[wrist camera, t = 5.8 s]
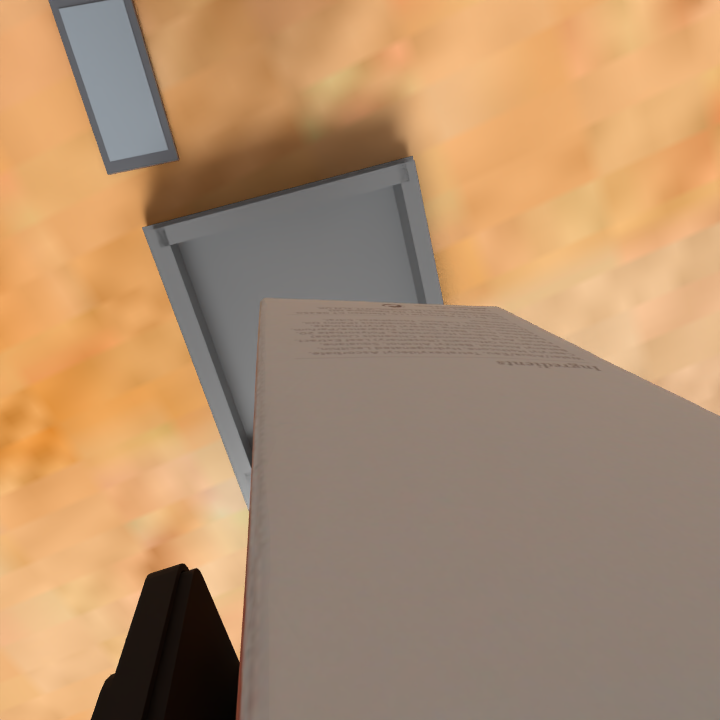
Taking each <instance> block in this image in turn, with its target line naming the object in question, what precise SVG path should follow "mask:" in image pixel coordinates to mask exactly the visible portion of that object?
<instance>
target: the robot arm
mask: <svg viewBox="0 0 720 720" xmlns="http://www.w3.org/2000/svg"><path fill="white" fill-rule="evenodd" d="M239 666H240V662H239V660H238V658H237V655H236V653H235V651H234V648H233V646H232V644H231V641H230V639H229V637H228V634H227V632H226V630H225V627H224V625H223V623H222V620H221V618H220V616H219V613H218V611H217V609H216V606H215V604H214V602H213V599H212V597H211V595H210V592H209V590H208V588H207V585H206V583H205V581H204V578H203V576H202V574H201V572H200V571H199V569H197V568H195V569H192V570H189V569H188V567H187V566H186V565H185V564H179V565H175V566H172V567H169V568H166V569H163V570H160V571H157V572H153V573H150V574H149V575H148V576H147V578H146V580H145V583H144V586H143V589H142V592H141V595H140V598H139V601H138V604H137V607H136V610H135V613H134V617H133V620H132V623H131V626H130V629H129V632H128V635H127V638H126V641H125V644H124V648H123V651H122V654H121V657H120V660H119V663H118V666H117V669H116V672H115V674H112V675H111V676H109V677H108V678H107V679H106V681H105V683H104V685H103V687H102V689H101V691H100V694H99V697H98V700H97V703H96V706H95V709H94V712H93V715H92V718H91V720H236V710H237V695H238V680H239Z"/></svg>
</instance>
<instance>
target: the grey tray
mask: <svg viewBox="0 0 720 720" xmlns="http://www.w3.org/2000/svg"><path fill="white" fill-rule="evenodd" d="M142 229H143V231H144V234H145V237H146V239H147V242H148V245H149V247H150V250H151V253H152V255H153V258H154V260H155V263H156V266H157V268H158V271H159V274H160V276H161V279H162V282H163V284H164V287H165V290H166V292H167V295H168V298H169V300H170V303H171V306H172V308H173V311H174V314H175V316H176V319H177V322H178V324H179V327H180V330H181V332H182V335H183V337H184V340H185V343H186V345H187V348H188V351H189V353H190V356H191V359H192V361H193V364H194V367H195V369H196V372H197V375H198V377H199V380H200V383H201V385H202V388H203V391H204V393H205V396H206V399H207V401H208V404H209V407H210V409H211V412H212V414H213V417H214V420H215V422H216V425H217V428H218V430H219V433H220V436H221V438H222V441H223V444H224V446H225V449H226V452H227V454H228V457H229V460H230V462H231V465H232V468H233V470H234V473H235V476H236V478H237V481H238V484H239V486H240V489H241V492H242V494H243V497H244V499H245V502H246V505H247V507H248V510H249V507H250V488H251V469H252V450H253V425H254V404H255V381H256V361H257V343H258V327H259V312H260V302H261V300H262V299H264V298H280V299H309V300H337V301H363V302H386V303H410V304H436V305H444V304H443V299H442V294H441V289H440V284H439V279H438V274H437V269H436V264H435V259H434V254H433V249H432V245H431V240H430V235H429V230H428V225H427V220H426V215H425V210H424V205H423V200H422V195H421V190H420V185H419V181H418V176H417V171H416V166H415V161H414V160H413V156H410V157H406V158H403V159H399V160H395V161H391V162H388V163H384V164H380V165H376V166H373V167H369V168H365V169H361V170H357V171H354V172H350V173H346V174H342V175H339V176H335V177H331V178H327V179H323V180H320V181H316V182H312V183H308V184H305V185H301V186H297V187H293V188H290V189H286V190H282V191H278V192H274V193H271V194H267V195H263V196H259V197H256V198H252V199H248V200H244V201H240V202H237V203H233V204H229V205H225V206H222V207H218V208H214V209H210V210H207V211H203V212H199V213H195V214H191V215H188V216H184V217H180V218H176V219H173V220H169V221H165V222H161V223H157V224H154V225H150V226H146V227H142Z"/></svg>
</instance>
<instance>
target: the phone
mask: <svg viewBox="0 0 720 720" xmlns="http://www.w3.org/2000/svg"><path fill="white" fill-rule="evenodd" d="M49 3H50V6H51V9H52V12H53V15H54V18H55V21H56V24H57V27H58V30H59V33H60V36H61V39H62V42H63V44H64V47H65V50H66V53H67V56H68V59H69V62H70V65H71V68H72V71H73V74H74V77H75V80H76V83H77V86H78V89H79V91H80V94H81V97H82V100H83V103H84V106H85V109H86V112H87V115H88V118H89V121H90V124H91V127H92V130H93V133H94V136H95V138H96V141H97V144H98V147H99V150H100V153H101V156H102V159H103V162H104V165H105V168H106V171H107V174H108V175H111V174H116V173H121V172H126V171H130V170H135V169H140V168H145V167H150V166H155V165H159V164H164V163H169V162H174V161H179V156H178V153H177V150H176V146H175V143H174V139H173V136H172V133H171V129H170V126H169V123H168V119H167V116H166V112H165V109H164V106H163V102H162V99H161V95H160V92H159V89H158V85H157V82H156V79H155V75H154V72H153V68H152V65H151V62H150V58H149V55H148V51H147V48H146V45H145V41H144V38H143V35H142V31H141V28H140V24H139V21H138V18H137V14H136V11H135V7H134V4H133V1H132V0H49Z"/></svg>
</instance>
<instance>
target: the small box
mask: <svg viewBox="0 0 720 720" xmlns="http://www.w3.org/2000/svg"><path fill="white" fill-rule="evenodd" d="M236 720H720V416H719V415H716V414H714V413H712V412H710V411H708V410H706V409H704V408H702V407H700V406H698V405H696V404H694V403H692V402H690V401H688V400H686V399H684V398H682V397H680V396H678V395H676V394H674V393H672V392H670V391H667V390H665V389H663V388H661V387H659V386H657V385H655V384H653V383H651V382H649V381H647V380H644V379H642V378H640V377H639V376H637V375H635V374H632V373H630V372H628V371H626V370H624V369H622V368H620V367H618V366H616V365H614V364H611V363H609V362H607V361H605V360H603V359H601V358H599V357H597V356H596V355H594V354H592V353H590V352H588V351H586V350H584V349H582V348H580V347H578V346H576V345H574V344H572V343H570V342H568V341H566V340H564V339H562V338H560V337H558V336H556V335H554V334H552V333H550V332H548V331H546V330H544V329H542V328H540V327H538V326H536V325H534V324H532V323H530V322H528V321H526V320H524V319H522V318H520V317H518V316H516V315H514V314H512V313H510V312H508V311H506V310H504V309H501V308H499V307H491V306H460V305H436V304H410V303H386V302H363V301H337V300H309V299H280V298H264V299H262V300H261V302H260V312H259V327H258V343H257V361H256V381H255V404H254V425H253V450H252V469H251V488H250V507H249V527H248V544H247V561H246V577H245V592H244V607H243V622H242V637H241V651H240V666H239V680H238V695H237V710H236Z"/></svg>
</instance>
